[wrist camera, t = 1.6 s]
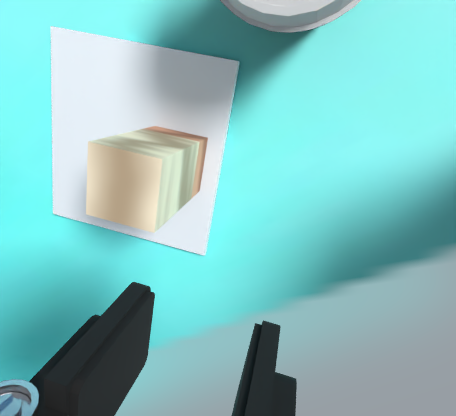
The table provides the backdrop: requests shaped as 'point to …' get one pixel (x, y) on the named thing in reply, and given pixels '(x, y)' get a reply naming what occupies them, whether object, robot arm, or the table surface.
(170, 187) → the maple block
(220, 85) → the white square plate
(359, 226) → the table surface
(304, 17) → the disposable coffee cup
